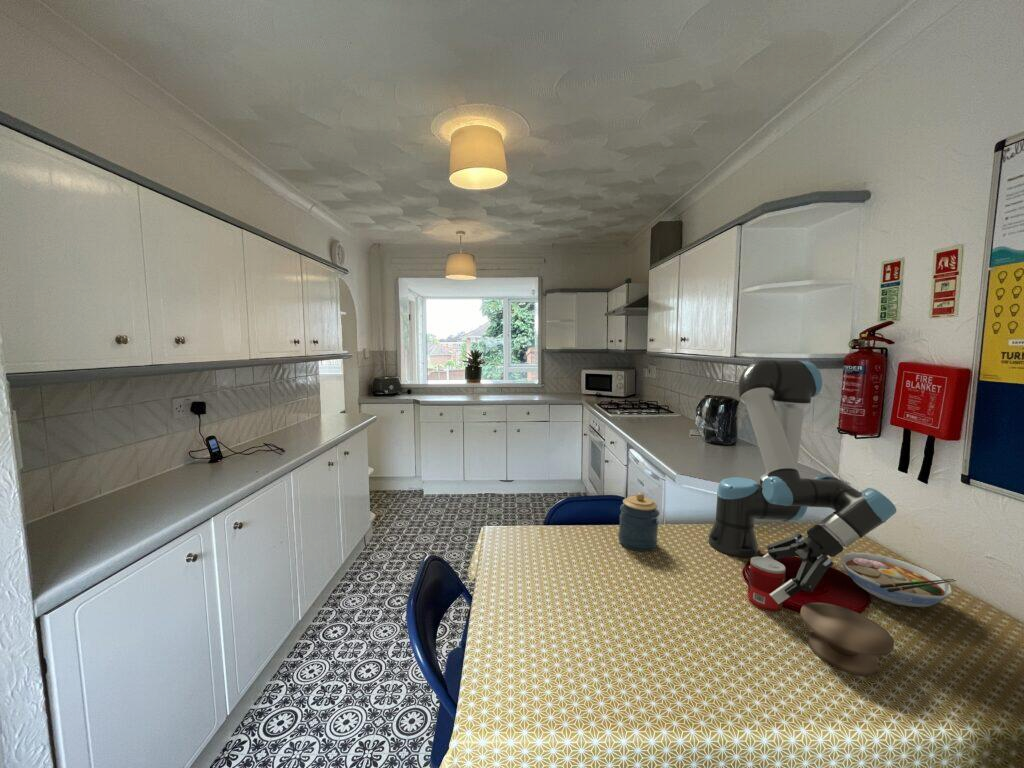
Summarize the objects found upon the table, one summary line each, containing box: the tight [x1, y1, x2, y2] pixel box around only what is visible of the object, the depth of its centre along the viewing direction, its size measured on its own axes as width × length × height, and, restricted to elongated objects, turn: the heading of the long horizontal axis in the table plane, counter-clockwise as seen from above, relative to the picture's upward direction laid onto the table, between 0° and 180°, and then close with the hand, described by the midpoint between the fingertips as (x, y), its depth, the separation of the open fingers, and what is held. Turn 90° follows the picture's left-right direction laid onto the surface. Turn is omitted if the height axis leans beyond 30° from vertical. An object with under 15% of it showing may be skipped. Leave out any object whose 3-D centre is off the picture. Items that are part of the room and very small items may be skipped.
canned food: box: [747, 556, 787, 612], centre depth 110 cm, size 8×8×11 cm
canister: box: [617, 492, 660, 552], centre depth 142 cm, size 13×13×18 cm
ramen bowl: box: [840, 552, 957, 608], centre depth 114 cm, size 25×23×8 cm
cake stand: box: [799, 602, 895, 677], centre depth 91 cm, size 16×16×7 cm
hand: (762, 584), depth 109 cm, fingers open, 13 cm apart
